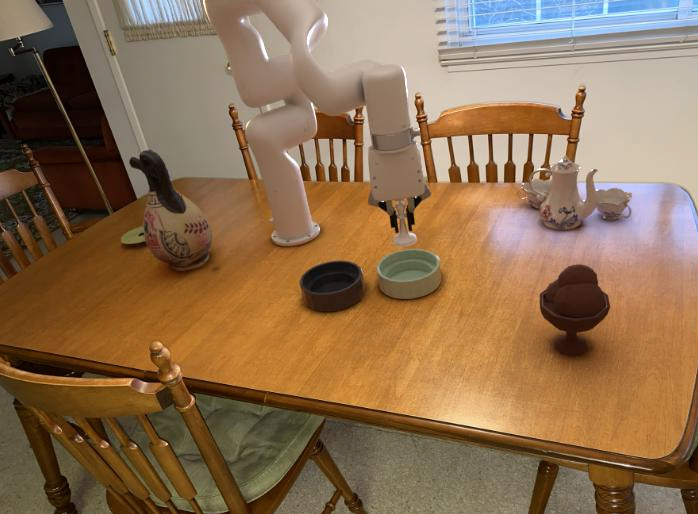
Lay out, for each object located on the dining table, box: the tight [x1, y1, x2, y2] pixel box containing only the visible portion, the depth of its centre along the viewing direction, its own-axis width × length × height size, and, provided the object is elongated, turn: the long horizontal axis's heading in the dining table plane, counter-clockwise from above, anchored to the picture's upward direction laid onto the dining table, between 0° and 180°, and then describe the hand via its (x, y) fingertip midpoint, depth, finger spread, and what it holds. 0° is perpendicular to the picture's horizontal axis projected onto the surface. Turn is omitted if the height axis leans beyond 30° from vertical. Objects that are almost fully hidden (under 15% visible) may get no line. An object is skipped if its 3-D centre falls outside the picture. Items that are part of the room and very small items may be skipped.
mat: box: [120, 225, 146, 245], centre depth 154 cm, size 11×11×2 cm
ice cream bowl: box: [539, 263, 611, 357], centre depth 90 cm, size 11×11×15 cm
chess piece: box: [392, 198, 418, 248], centre depth 109 cm, size 5×5×10 cm
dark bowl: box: [299, 260, 366, 312], centre depth 116 cm, size 13×13×4 cm
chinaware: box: [516, 155, 633, 231], centre depth 128 cm, size 28×17×17 cm, turn 58°
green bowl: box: [375, 248, 442, 300], centre depth 116 cm, size 13×13×4 cm
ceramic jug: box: [128, 149, 213, 272], centre depth 130 cm, size 17×15×30 cm
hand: (403, 228), depth 110 cm, fingers closed on chess piece
